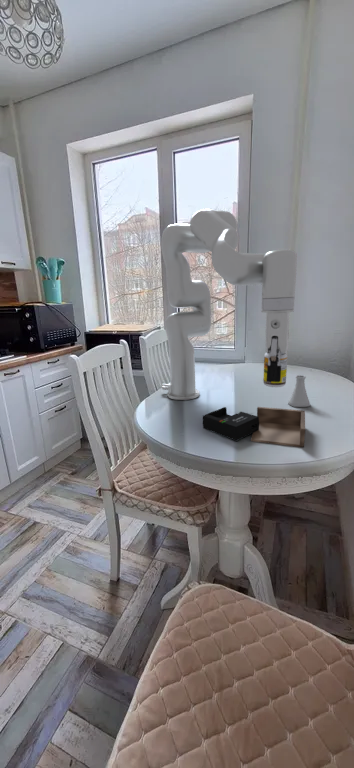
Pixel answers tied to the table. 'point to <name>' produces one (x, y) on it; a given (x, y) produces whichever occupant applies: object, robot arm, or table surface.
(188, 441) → the table surface
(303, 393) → the flask
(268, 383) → the supplement bottle
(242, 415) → the battery charger
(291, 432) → the corner arena
